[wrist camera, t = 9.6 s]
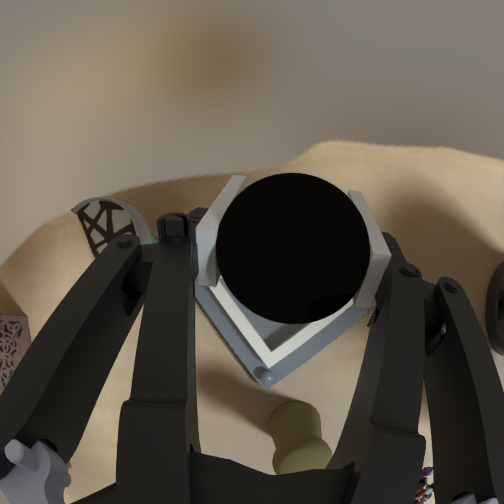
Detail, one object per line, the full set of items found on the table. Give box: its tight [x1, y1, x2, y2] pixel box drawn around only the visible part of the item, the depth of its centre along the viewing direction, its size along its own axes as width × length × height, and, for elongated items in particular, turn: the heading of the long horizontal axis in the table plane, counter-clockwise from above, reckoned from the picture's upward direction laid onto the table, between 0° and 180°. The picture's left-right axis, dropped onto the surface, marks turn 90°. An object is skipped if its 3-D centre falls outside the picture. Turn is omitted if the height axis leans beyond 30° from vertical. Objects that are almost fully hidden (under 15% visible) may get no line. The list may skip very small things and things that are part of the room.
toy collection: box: [413, 467, 434, 504], centre depth 23 cm, size 15×14×5 cm
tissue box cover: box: [0, 315, 72, 469], centre depth 26 cm, size 26×14×10 cm, turn 15°
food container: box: [71, 197, 159, 258], centre depth 29 cm, size 12×6×10 cm, turn 36°
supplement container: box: [216, 173, 370, 324], centre depth 15 cm, size 6×6×9 cm
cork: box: [269, 401, 332, 475], centre depth 23 cm, size 6×6×11 cm
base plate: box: [195, 276, 376, 390], centre depth 30 cm, size 16×16×3 cm
